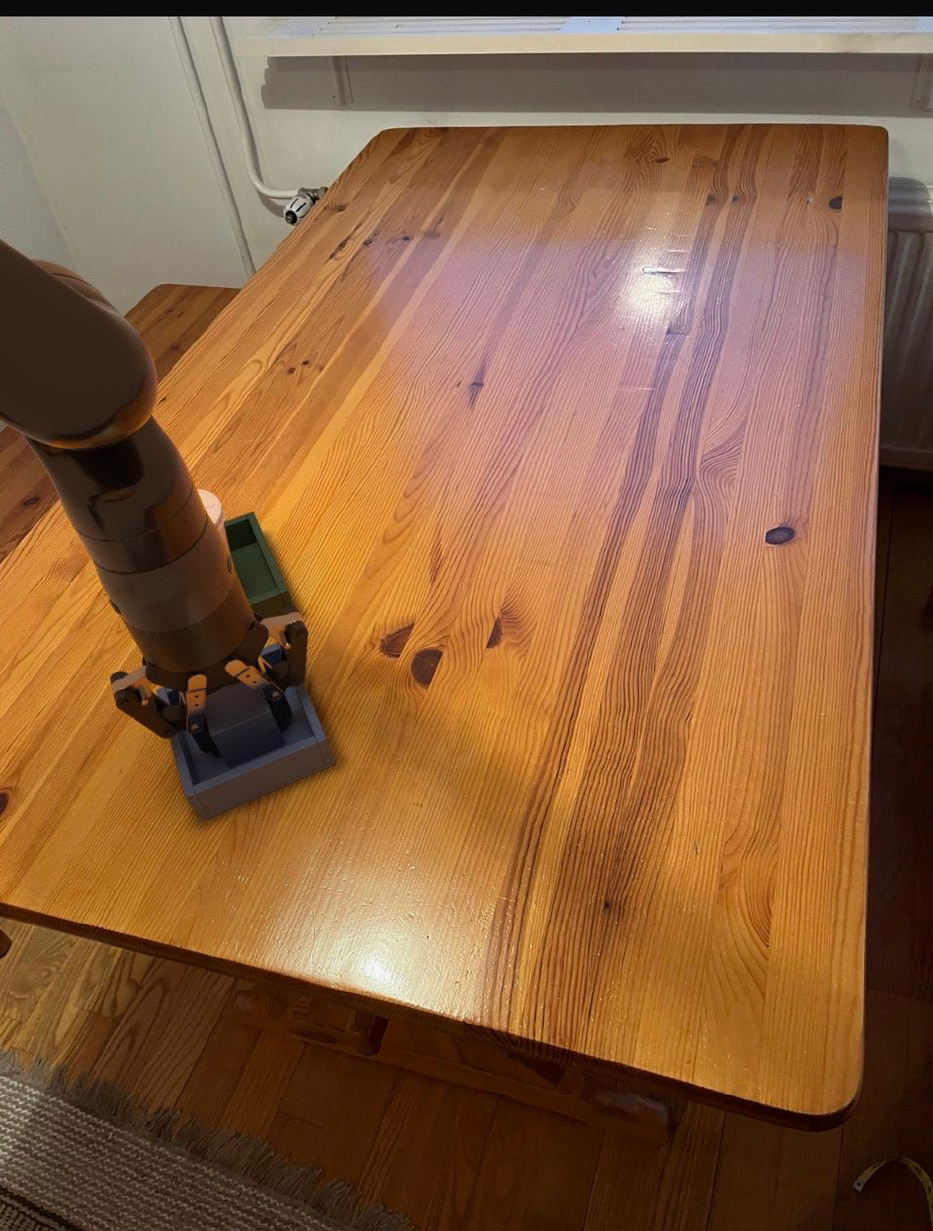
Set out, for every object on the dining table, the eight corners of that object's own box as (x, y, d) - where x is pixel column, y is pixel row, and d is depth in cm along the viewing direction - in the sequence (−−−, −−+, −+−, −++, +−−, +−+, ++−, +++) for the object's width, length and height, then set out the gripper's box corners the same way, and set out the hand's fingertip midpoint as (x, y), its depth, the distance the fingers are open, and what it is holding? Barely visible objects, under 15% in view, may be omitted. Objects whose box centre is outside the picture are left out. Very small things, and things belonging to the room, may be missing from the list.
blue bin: (201, 821, 67) (185, 797, 64) (171, 715, 73) (155, 689, 71) (336, 764, 69) (326, 738, 66) (295, 665, 75) (285, 638, 73)
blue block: (228, 769, 69) (210, 735, 66) (214, 724, 72) (195, 690, 68) (286, 745, 70) (270, 711, 67) (269, 701, 73) (254, 667, 69)
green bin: (173, 666, 77) (158, 639, 74) (147, 580, 83) (133, 553, 81) (298, 617, 79) (288, 590, 76) (263, 538, 86) (253, 510, 83)
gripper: (266, 506, 61) (321, 662, 74) (50, 584, 59) (147, 732, 72) (300, 579, 57) (352, 733, 70) (67, 668, 54) (167, 810, 67)
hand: (248, 732), depth 71 cm, fingers closed on blue block, 4 cm apart
